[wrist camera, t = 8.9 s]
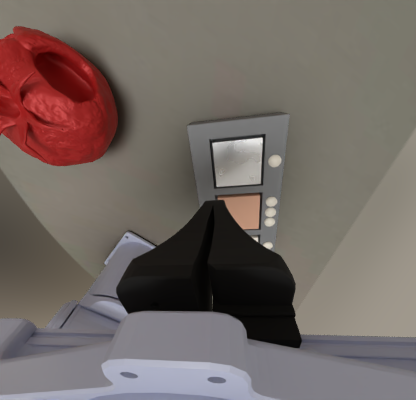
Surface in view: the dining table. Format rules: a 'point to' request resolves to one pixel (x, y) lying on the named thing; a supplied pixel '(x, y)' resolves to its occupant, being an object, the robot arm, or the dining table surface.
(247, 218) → the button three dot
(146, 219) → the dining table surface
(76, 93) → the red hollow rounded sculpture
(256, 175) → the button one dot
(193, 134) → the button panel
